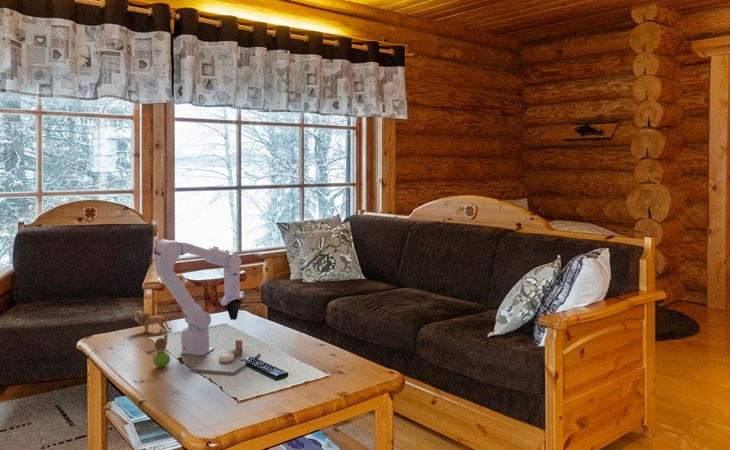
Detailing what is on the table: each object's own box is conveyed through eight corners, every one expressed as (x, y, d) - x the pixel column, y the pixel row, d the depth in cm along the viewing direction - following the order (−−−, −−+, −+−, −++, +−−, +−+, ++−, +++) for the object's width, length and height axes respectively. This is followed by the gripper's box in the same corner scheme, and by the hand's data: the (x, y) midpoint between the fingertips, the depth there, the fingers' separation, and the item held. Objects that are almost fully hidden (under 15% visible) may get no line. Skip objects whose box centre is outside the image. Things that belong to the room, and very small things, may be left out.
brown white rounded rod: (228, 362, 211) (228, 350, 210) (216, 361, 213) (215, 349, 212) (247, 352, 222) (246, 340, 221) (235, 350, 224) (234, 339, 223)
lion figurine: (133, 334, 251) (132, 312, 250) (137, 330, 256) (135, 309, 255) (170, 332, 252) (169, 311, 251) (173, 328, 258) (172, 307, 256)
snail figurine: (175, 364, 214) (173, 330, 213) (163, 370, 208) (161, 335, 207) (162, 362, 216) (160, 329, 215) (150, 368, 210) (148, 334, 209)
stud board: (190, 371, 207) (190, 368, 207) (220, 352, 226) (220, 349, 226) (238, 375, 202) (238, 372, 202) (264, 355, 221) (264, 352, 221)
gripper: (232, 288, 226) (234, 325, 227) (250, 280, 240) (251, 314, 241) (215, 288, 228) (216, 324, 229) (233, 280, 242) (235, 313, 243)
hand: (233, 319), depth 235 cm, fingers closed
